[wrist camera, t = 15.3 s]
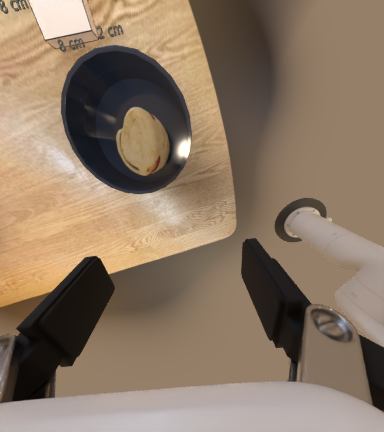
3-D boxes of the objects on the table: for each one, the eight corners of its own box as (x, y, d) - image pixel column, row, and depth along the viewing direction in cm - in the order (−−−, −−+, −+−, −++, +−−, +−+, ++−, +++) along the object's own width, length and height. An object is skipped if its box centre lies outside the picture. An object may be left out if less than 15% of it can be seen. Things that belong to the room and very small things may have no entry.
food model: (172, 167, 39) (160, 181, 21) (148, 165, 39) (114, 178, 21) (173, 126, 35) (158, 100, 17) (146, 124, 34) (101, 95, 16)
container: (105, -45, 24) (95, -66, 22) (128, 47, 29) (122, 38, 27) (-3, -20, 25) (-23, -38, 23) (37, 66, 30) (24, 59, 28)
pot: (182, 68, 31) (180, 33, 22) (195, 178, 41) (197, 186, 32) (76, 84, 31) (31, 57, 22) (115, 189, 42) (95, 200, 33)
